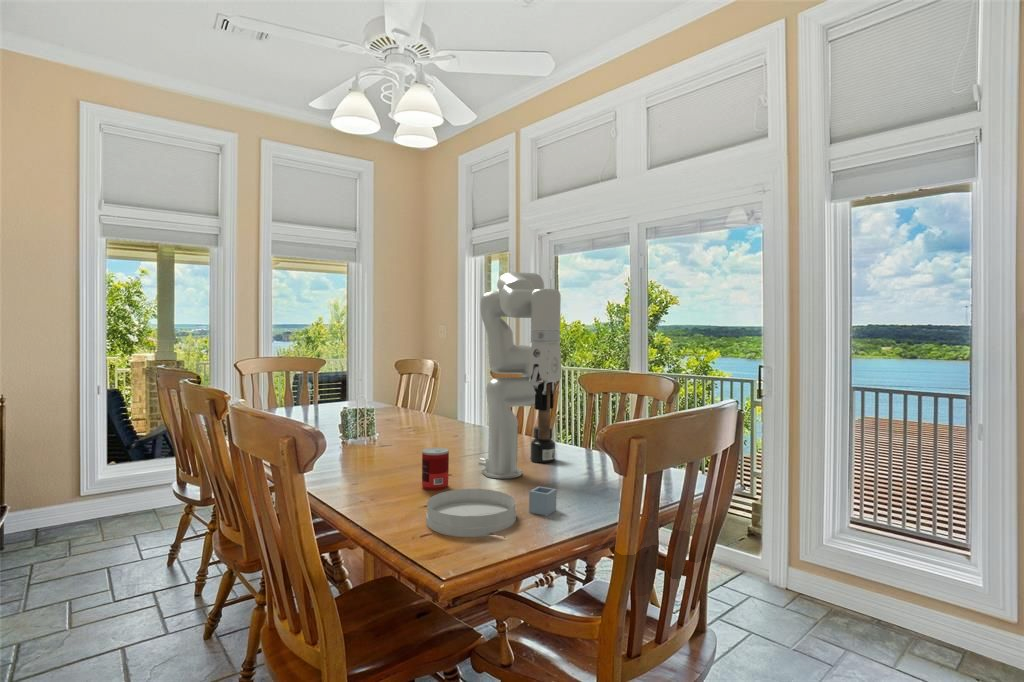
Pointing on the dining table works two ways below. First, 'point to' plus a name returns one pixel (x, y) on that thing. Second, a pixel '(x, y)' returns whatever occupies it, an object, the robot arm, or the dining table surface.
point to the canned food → (435, 468)
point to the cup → (542, 501)
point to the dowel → (544, 418)
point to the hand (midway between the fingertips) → (544, 408)
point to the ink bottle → (542, 448)
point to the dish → (470, 512)
